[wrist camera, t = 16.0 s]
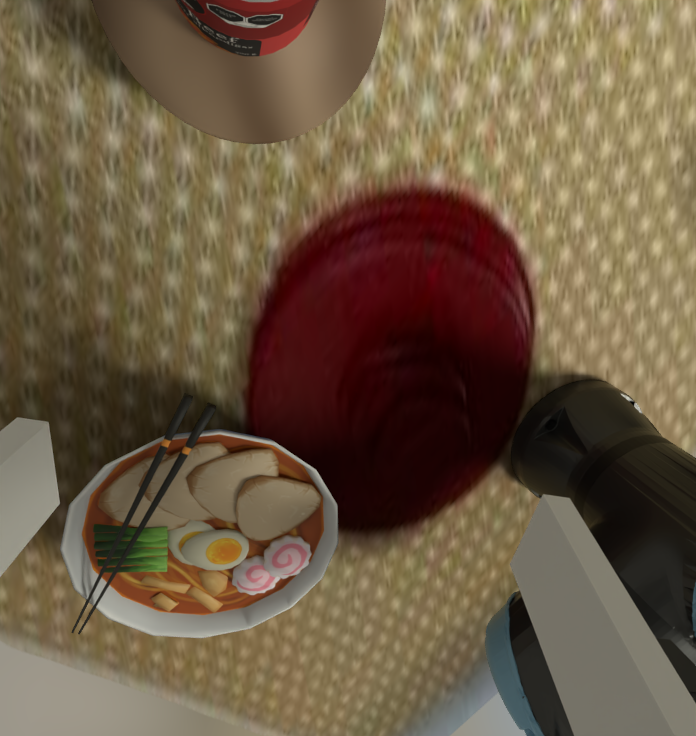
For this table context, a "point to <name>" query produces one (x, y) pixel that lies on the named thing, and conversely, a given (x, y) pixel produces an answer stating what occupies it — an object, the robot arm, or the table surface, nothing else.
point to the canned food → (248, 23)
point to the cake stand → (246, 68)
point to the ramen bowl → (199, 532)
